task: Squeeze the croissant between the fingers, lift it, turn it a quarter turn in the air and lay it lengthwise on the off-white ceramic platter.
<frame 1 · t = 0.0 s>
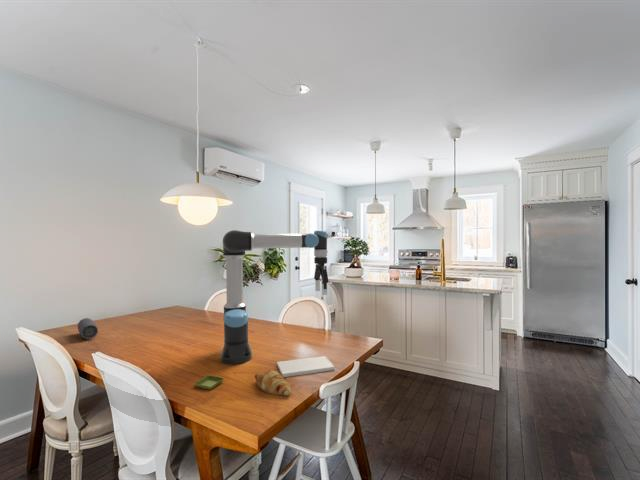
hand: (321, 292, 187), 28 cm above the table, tool pointing down, fingers open, 13 cm apart
platter: (305, 367, 148), on the table
saucer: (209, 386, 131), on the table
bluetooth speaker: (87, 336, 199), on the table
croissant: (271, 389, 127), on the table
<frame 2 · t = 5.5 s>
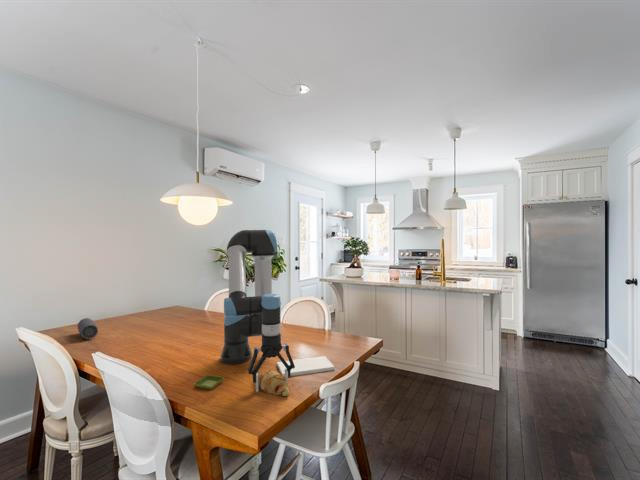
hand: (271, 388, 127), 0 cm above the table, tool pointing down, fingers open, 11 cm apart
nothing on the table moved.
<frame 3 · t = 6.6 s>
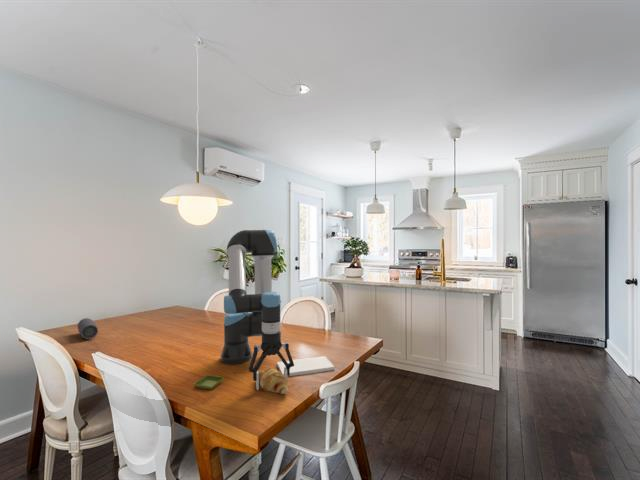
hand: (271, 386, 127), 1 cm above the table, tool pointing down, fingers closed on croissant, 11 cm apart
croissant: (271, 387, 127), on the table, touching gripper
everything else where it was.
when the fingers open (3 cm above the table, at t = 12.7 s): croissant stays where it is, resting on platter.
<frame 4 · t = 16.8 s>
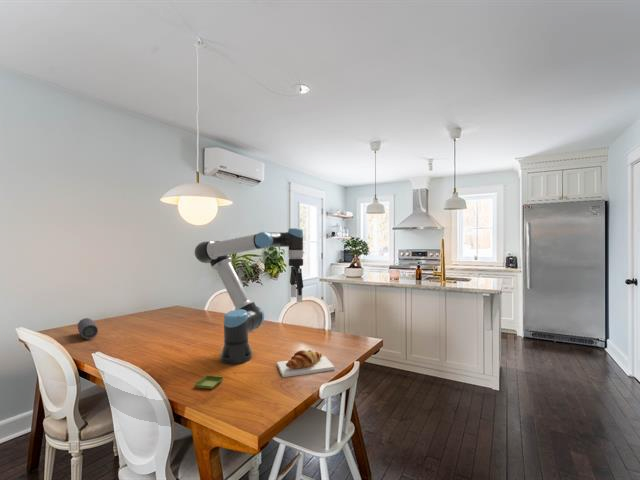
hand: (296, 299, 164), 29 cm above the table, tool pointing down, fingers open, 13 cm apart
croissant: (305, 364, 147), point 1 cm above the table, touching platter
everything else where it was.
at the end: croissant inside the target area on the platter (0.1 cm from its centre), point 1.3 cm above the platter's base; croissant touching platter; the gripper is holding nothing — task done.
